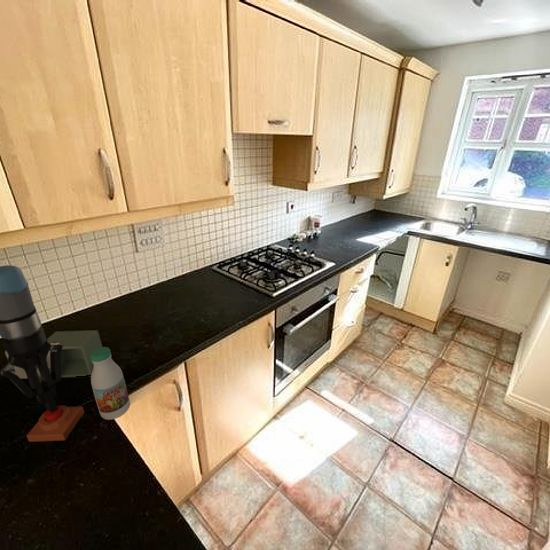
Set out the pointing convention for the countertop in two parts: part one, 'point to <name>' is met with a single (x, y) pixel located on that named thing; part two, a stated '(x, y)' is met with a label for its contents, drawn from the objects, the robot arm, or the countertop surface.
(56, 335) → the cupboard
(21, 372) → the slide door
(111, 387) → the milk bottle
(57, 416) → the button
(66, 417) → the button box
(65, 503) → the countertop surface
